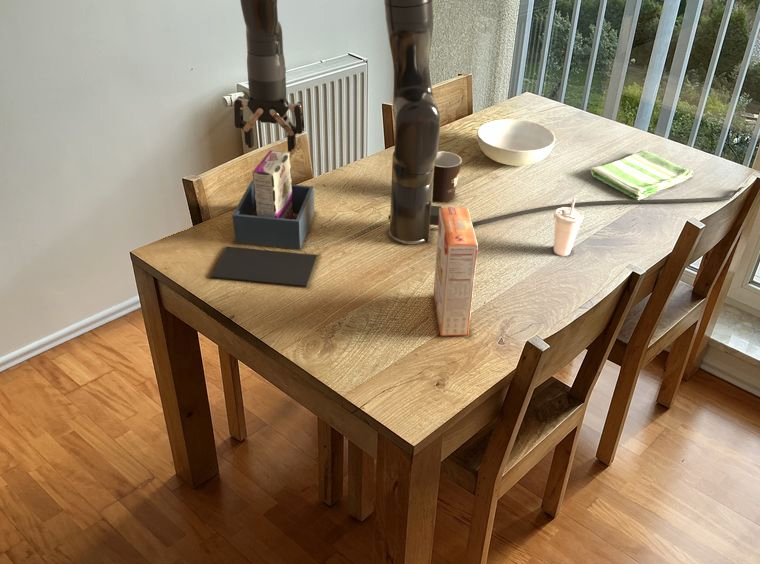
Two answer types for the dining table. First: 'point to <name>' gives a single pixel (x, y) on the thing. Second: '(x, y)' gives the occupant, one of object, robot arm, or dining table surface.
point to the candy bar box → (274, 186)
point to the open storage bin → (274, 221)
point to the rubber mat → (265, 266)
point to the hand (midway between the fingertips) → (270, 148)
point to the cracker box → (454, 270)
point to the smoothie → (566, 228)
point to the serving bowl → (515, 141)
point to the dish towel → (641, 174)
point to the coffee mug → (445, 176)
